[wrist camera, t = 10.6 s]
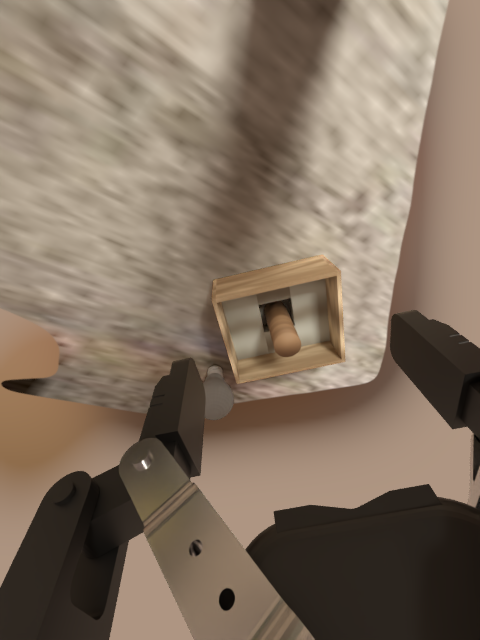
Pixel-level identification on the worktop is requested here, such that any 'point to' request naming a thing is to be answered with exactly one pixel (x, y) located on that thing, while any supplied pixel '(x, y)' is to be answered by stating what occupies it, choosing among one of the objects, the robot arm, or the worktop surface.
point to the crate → (306, 308)
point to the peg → (282, 329)
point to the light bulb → (217, 394)
